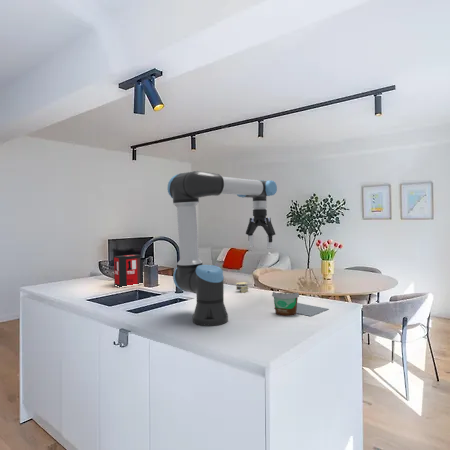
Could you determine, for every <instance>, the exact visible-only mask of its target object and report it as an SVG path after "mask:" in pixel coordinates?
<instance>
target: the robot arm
mask: <svg viewBox="0 0 450 450" xmlns="http://www.w3.org/2000/svg"><path fill="white" fill-rule="evenodd" d="M167 183H168V184H167V194H168V195H169V196H170V198H171V199H172V204H173V205H174V206H175V207H176V212H177V213H176V215H177V216H176V217H177V218H176V219H177V232H178V250H179V261H177V262H176V268H175V269H174V271H173V275H172V279H173V280H172V281H173V283H174V285H175V287H176V288H178V289H179V290H181V291H183V292H186V293H193V294H196V304H195V307H194V312H193V314H192V322H193V323H194V324H196V325H197V326H198V325H200V326H205V327H206V326H207V327H210V326H219V325H223V324H225V323H227V322H228V321H229V315H228V312H227V309H226V305H225V302H224V289H225V288H224V277H225V276H224V271H223V269H222V268H221V267H219V266H218V265H213V264H211V265H210V264H203V260H201V259H200V255H199V240H198V224H197V223H198V222H197V206H198V204H199V202H200V199H199V198H205V197H211V196H212V197H213V196H216V197H217V196H220V195H221V194H223V195H236V196H237V197H239V198H247V199H248V198H250V199H251V198H252V209H253V210H252V216H253V217H249V221H248V226H247V228H246V231H245V235H247V236H248V248H254V244H255V241H254V237H255V235H254V232H255V231H256V229H257V228H258V227H262V228H263V230H264V231H265V233H266V234H267V236H266V249H267V250H269V249H272V247H273V246H272V243H273V237H274V236H276V232H275V229H274V226H273V224H272V220H271V219H272V218H271V217H267V215H268V213H267V204H268V202H267V197H270V196H274V195H276V194H277V191H278V186H277V185H278V184H277V183H276V182H275V181H274V180H269V179H268V180H264V179H263V180H262V179H249V178H239V177H230V176H223V175H222V174H220V173H215V172H210V171H209V172H208V171H201V170H194V171H188V172H182V173H181V172H180V173H177V174H175V175H173V176H172V177H171V178H170V179H169V181H168V182H167Z"/></svg>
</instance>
